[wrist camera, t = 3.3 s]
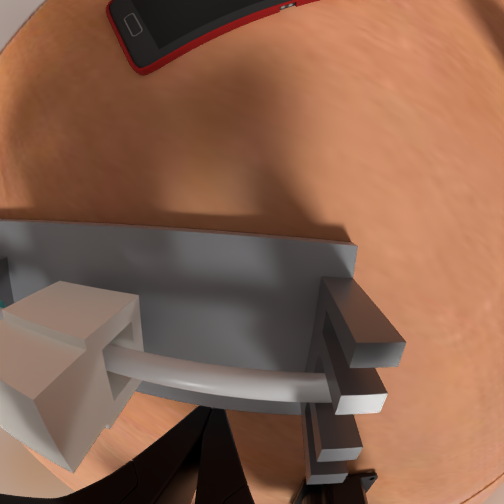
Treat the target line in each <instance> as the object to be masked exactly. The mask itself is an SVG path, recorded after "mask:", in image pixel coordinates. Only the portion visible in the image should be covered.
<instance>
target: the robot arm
mask: <svg viewBox="0 0 504 504" xmlns="http://www.w3.org/2000/svg"><path fill="white" fill-rule="evenodd" d="M377 477H378V476H377V473H375V472H374V473H366V474H358V475H348V476H346V478H345V480H344V481H343V483H331V484H308V485H307V482H306V479H304V480H303V482H302V485H301V487H300V489H299V491H298V494H297V496H296V498H295V500H294V502H293V504H368V502H367V497H366V492H367V491H368V490H369V488H370V487H371V486H372V484H373V483H374V482H375V480H376V479H377ZM195 490H196V498H195V504H255V503H254V500H253V498H252V495H251V493H250V490H249V487H248V485H247V481H246V478H245V475H244V472H243V469H242V465H241V462H240V459H239V456H238V452H237V449H236V446H235V442H234V439H233V435H232V432H231V428H230V425H229V421H228V418H227V414H226V410H225V409H223V408H216V407H213V408H212V407H210V406H204V405H199V406H198V407H197V408H195V409H194V410H193V411H192V412H191V413H190V414H188V415H187V416H186V417H185V418H184V419H183V420H181V421H180V422H179V423H178V424H177V425H175V426H174V427H173V428H172V429H170V430H169V431H168V432H167V433H166V434H164V435H163V436H162V437H161V438H159V439H158V440H157V441H156V442H154V443H153V444H152V445H150V446H149V447H148V448H147V449H145V450H144V451H143V452H141V453H140V454H139V455H137V456H136V457H135V458H133V459H132V461H129V462H128V463H127V464H125V465H124V466H122V467H121V468H119V469H118V470H116V471H115V472H113V473H112V474H110V475H108V476H106V477H105V478H103V479H101V480H99V481H97V482H95V483H93V484H91V485H89V486H87V487H85V488H83V489H80V490H78V491H76V492H74V493H72V494H69V495H67V496H63V497H59V498H51V499H50V498H48V499H47V498H32V497H21V496H13V495H6V494H0V504H191V501H192V498H193V496H194V493H195Z"/></svg>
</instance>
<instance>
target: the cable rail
mask: <svg viewBox="0 0 504 504" xmlns="http://www.w3.org/2000/svg"><path fill="white" fill-rule="evenodd" d="M357 247H358V246H357V245H355V244H354V243H352V242H345V241H334V240H324V239H313V238H302V237H291V236H279V235H268V234H256V233H243V232H231V231H218V230H204V229H190V228H176V227H161V226H145V225H129V224H111V223H93V222H73V221H50V220H25V219H0V320H2V319H4V317H3V313H2V309H4V308H6V307H8V306H10V305H12V304H14V303H16V302H18V301H20V300H21V299H23V298H25V297H27V296H29V295H31V294H33V293H35V292H37V291H39V290H42V289H44V288H46V287H48V286H50V285H52V284H54V283H56V282H58V281H64V282H69V283H74V284H79V285H84V286H89V287H95V288H100V289H106V290H112V291H117V292H123V293H130V294H136V295H139V304H140V317H141V328H142V338H143V347H144V352H142V351H138V350H133V349H129V348H125V347H120V346H116V345H112V344H109V343H108V344H107V345H106V346H105V347H104V348H103V349H102V353H103V358H104V363H105V367H106V371H109V372H113V373H116V374H120V375H124V376H127V377H131V378H135V379H139V380H142V382H141V383H140V385H139V386H138V388H137V389H136V391H137V392H141V393H144V394H148V395H153V396H157V397H161V398H166V399H170V400H175V401H180V402H185V403H190V404H196V405H204V406H210V407H216V408H223V409H229V410H237V411H246V412H256V413H268V414H284V415H301V418H302V429H303V441H304V454H305V467H306V482H307V485H308V484H331V483H343V481H344V480H345V478H346V476H347V475H348V469H347V464H346V460H356V459H357V457H358V455H359V454H360V452H361V450H362V448H363V445H362V442H361V438H360V435H359V431H358V428H357V425H356V421H355V418H354V415H353V414H365V413H378V412H380V411H381V408H382V406H383V404H384V401H385V399H386V397H387V394H388V393H387V391H386V389H385V387H384V385H383V383H382V381H381V379H380V377H379V375H378V373H377V371H376V369H375V368H378V367H398V365H399V363H400V360H401V357H402V354H403V351H404V348H405V345H406V341H405V340H404V339H403V337H402V336H401V335H400V334H399V333H398V331H397V330H396V329H395V328H394V326H393V325H392V324H391V323H390V321H389V320H388V319H387V318H386V317H385V315H384V314H383V313H382V312H381V311H380V309H379V308H378V307H377V306H376V305H375V304H374V302H373V301H372V300H371V299H370V298H369V296H368V295H367V294H366V293H365V292H364V291H363V289H362V288H361V287H360V286H359V285H358V284H357V283H356V281H355V280H354V279H353V274H354V268H355V261H356V254H357Z"/></svg>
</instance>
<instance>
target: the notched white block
mask: <svg viewBox="0 0 504 504" xmlns="http://www.w3.org/2000/svg"><path fill="white" fill-rule="evenodd" d="M2 313H3V317H4V319H2V320H0V427H1V428H3V429H4V430H5V431H7V432H8V433H9V434H11V435H12V436H13V437H15V438H16V439H18V440H19V441H20V442H22V443H23V444H25V445H26V446H28V447H29V448H31V449H32V450H34V451H35V452H37V453H39V454H40V455H42V456H43V457H45V458H47V459H48V460H50V461H52V462H54V463H55V464H57V465H59V466H61V467H63V468H64V469H66V470H68V471H70V472H72V473H74V472H75V471H76V469H77V468H78V466H79V465H80V463H81V462H82V460H83V459H84V457H85V456H86V454H87V453H88V451H89V450H90V448H91V447H92V445H93V444H94V442H95V441H96V439H97V438H98V436H99V435H100V433H101V432H102V430H103V429H104V428H107V429H110V428H111V427H112V425H113V424H114V422H115V421H116V419H117V418H118V416H119V415H120V413H121V412H122V410H123V409H124V407H125V406H126V404H127V403H128V401H129V400H130V398H131V397H132V395H133V394H134V392H135V391H136V389H137V388H138V386H139V385H140V383H141V382H142V380H139V379H135V378H131V377H127V376H124V375H120V374H116V373H113V372H109V371H106V367H105V363H104V358H103V353H102V349H103V348H104V347H105V346H106V345H107V344H108V343H109V344H112V345H116V346H120V347H125V348H129V349H133V350H138V351H142V352H144V347H143V338H142V328H141V317H140V304H139V295H136V294H130V293H123V292H117V291H112V290H106V289H100V288H95V287H89V286H84V285H79V284H74V283H69V282H64V281H58V282H56V283H54V284H52V285H50V286H48V287H46V288H44V289H42V290H39V291H37V292H35V293H33V294H31V295H29V296H27V297H25V298H23V299H21V300H20V301H18V302H16V303H14V304H12V305H10V306H8V307H6V308H4V309H2Z"/></svg>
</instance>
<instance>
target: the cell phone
mask: <svg viewBox="0 0 504 504" xmlns="http://www.w3.org/2000/svg"><path fill="white" fill-rule="evenodd" d="M315 1H319V0H111V1H110V2H109V3H108V5H107V6H106V14H107V16H108V19H109V21H110V23H111V25H112V28H113V30H114V32H115V34H116V36H117V38H118V41H119V43H120V45H121V47H122V49H123V51H124V54H125V56H126V58H127V60H128V62H129V64H130V65H131V67H132V68H133V69H134V70H135V71H136V72H137V73H138V74H140V75H147V74H149V73H151V72H153V71H155V70H157V69H159V68H161V67H163V66H164V65H166V64H167V63H169V62H171V61H173V60H174V59H176V58H178V57H179V56H181V55H183V54H185V53H187V52H188V51H190V50H192V49H194V48H196V47H198V46H200V45H202V44H204V43H206V42H208V41H210V40H212V39H214V38H216V37H218V36H220V35H222V34H224V33H227V32H229V31H231V30H233V29H236V28H238V27H240V26H243V25H245V24H248V23H250V22H253V21H255V20H258V19H261V18H263V17H266V16H269V15H272V14H275V13H278V12H280V10H282V9H285V8H288V7H291V6H296V7H297V6H300V5H304V4H307V3H311V2H315Z"/></svg>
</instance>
